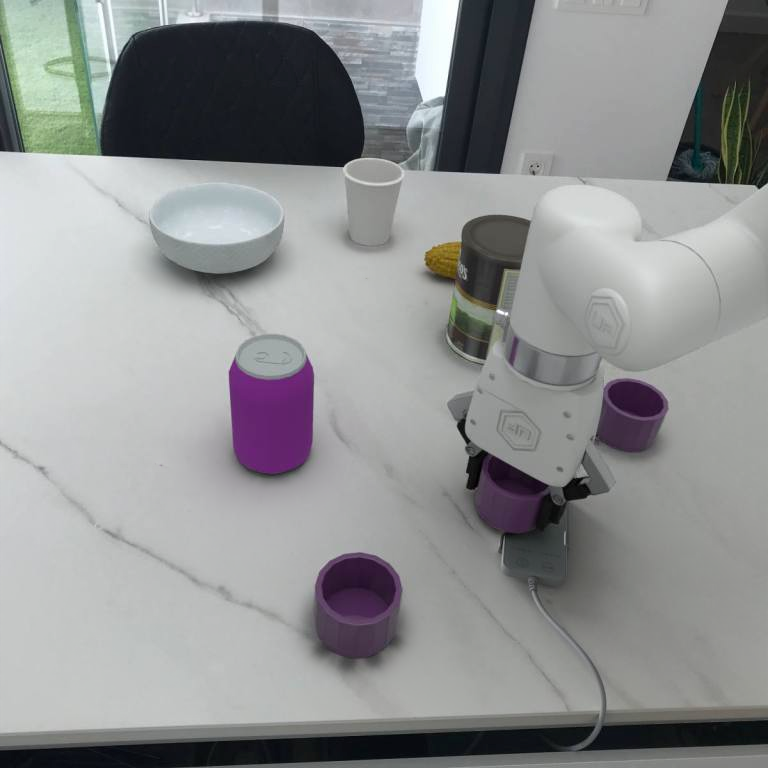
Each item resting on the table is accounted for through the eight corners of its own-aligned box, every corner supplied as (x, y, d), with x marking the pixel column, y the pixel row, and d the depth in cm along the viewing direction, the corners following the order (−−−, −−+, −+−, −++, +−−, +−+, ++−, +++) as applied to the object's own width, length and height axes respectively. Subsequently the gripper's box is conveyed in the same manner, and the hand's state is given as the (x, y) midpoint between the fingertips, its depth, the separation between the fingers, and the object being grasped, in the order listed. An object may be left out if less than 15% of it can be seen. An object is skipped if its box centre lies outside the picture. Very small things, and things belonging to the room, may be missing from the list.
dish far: (666, 449, 81) (679, 417, 78) (607, 454, 79) (619, 422, 76) (638, 407, 86) (650, 376, 83) (583, 412, 84) (593, 380, 81)
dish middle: (556, 529, 70) (567, 495, 67) (486, 536, 69) (494, 502, 66) (531, 476, 75) (541, 442, 72) (466, 482, 74) (473, 448, 71)
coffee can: (440, 358, 90) (457, 251, 81) (450, 310, 98) (466, 208, 89) (529, 373, 89) (556, 267, 80) (532, 323, 97) (556, 221, 88)
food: (572, 273, 107) (582, 234, 103) (581, 295, 103) (592, 256, 99) (421, 265, 105) (426, 226, 102) (424, 288, 101) (429, 247, 97)
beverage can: (228, 478, 73) (221, 379, 65) (238, 422, 79) (232, 326, 71) (310, 481, 73) (312, 383, 66) (314, 426, 79) (316, 330, 72)
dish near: (404, 652, 60) (410, 619, 57) (319, 663, 59) (321, 630, 56) (388, 582, 65) (392, 548, 62) (309, 591, 64) (310, 557, 61)
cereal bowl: (197, 308, 94) (193, 257, 89) (131, 250, 103) (124, 201, 98) (309, 266, 103) (310, 218, 99) (239, 217, 112) (237, 171, 108)
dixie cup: (365, 256, 106) (370, 189, 100) (328, 231, 111) (330, 165, 104) (410, 240, 111) (417, 174, 104) (372, 217, 115) (377, 152, 109)
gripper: (433, 322, 61) (411, 478, 73) (638, 421, 54) (578, 577, 65) (483, 285, 66) (454, 436, 77) (677, 371, 59) (614, 525, 70)
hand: (511, 500), depth 71 cm, fingers closed on dish middle, 6 cm apart
